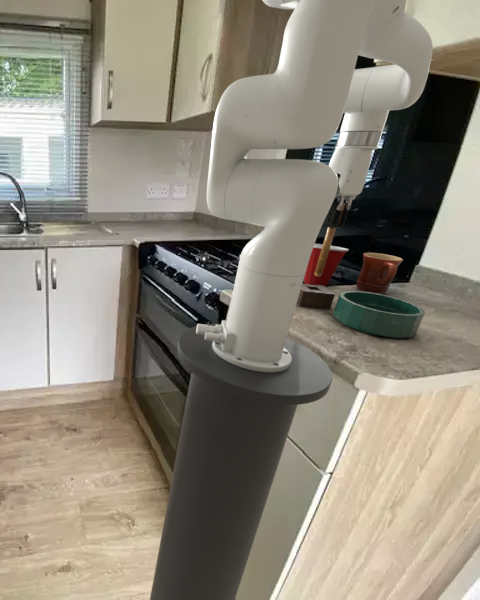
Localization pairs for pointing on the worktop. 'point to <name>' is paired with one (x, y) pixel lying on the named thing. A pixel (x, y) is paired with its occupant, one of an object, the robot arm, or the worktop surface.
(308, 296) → the holder
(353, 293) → the bowl
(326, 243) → the stick
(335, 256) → the plastic cup
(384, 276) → the mug
